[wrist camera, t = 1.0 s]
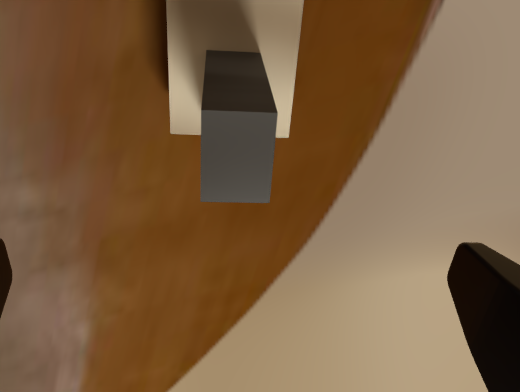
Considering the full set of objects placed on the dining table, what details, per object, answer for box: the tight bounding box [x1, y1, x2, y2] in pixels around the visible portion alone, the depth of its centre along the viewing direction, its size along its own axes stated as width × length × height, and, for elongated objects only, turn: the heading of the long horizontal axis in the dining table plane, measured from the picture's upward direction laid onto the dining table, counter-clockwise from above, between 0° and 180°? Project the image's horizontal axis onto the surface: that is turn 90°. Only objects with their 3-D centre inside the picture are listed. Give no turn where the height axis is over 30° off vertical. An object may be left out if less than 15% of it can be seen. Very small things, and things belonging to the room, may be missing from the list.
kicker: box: [166, 0, 304, 203], centre depth 15 cm, size 8×5×7 cm, turn 176°
